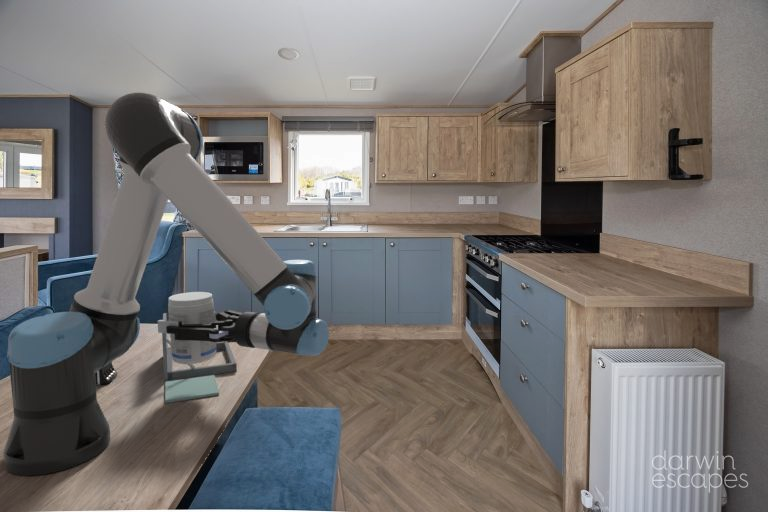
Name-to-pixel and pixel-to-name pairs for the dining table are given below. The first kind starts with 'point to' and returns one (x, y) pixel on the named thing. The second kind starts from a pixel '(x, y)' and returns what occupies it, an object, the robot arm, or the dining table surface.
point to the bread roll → (226, 340)
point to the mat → (190, 388)
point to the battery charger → (105, 374)
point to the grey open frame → (192, 371)
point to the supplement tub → (191, 312)
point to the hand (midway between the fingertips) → (176, 320)
